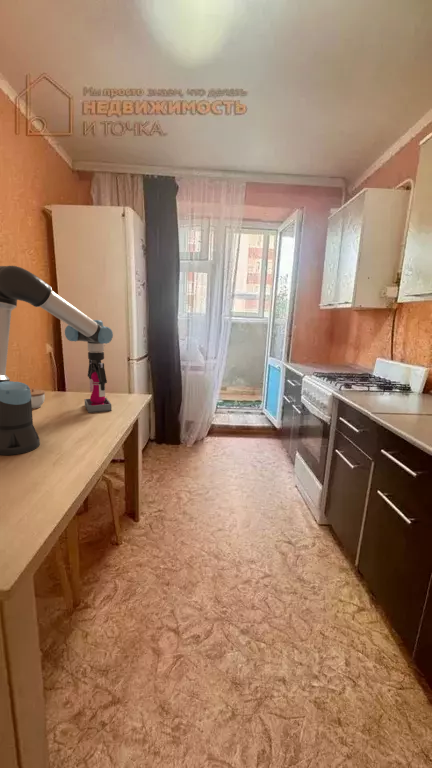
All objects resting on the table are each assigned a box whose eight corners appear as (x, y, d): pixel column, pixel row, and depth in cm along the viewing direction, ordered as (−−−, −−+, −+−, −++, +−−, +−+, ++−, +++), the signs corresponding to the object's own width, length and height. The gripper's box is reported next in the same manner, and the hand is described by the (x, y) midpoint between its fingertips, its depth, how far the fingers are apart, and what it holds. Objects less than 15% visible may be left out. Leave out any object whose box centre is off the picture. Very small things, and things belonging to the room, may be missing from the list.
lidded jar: (38, 410, 168) (37, 391, 166) (17, 409, 168) (15, 390, 167) (49, 404, 179) (48, 386, 177) (29, 403, 179) (27, 386, 177)
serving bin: (111, 410, 172) (111, 404, 172) (88, 413, 167) (88, 406, 167) (106, 403, 184) (106, 397, 184) (84, 405, 179) (84, 399, 179)
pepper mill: (87, 408, 173) (86, 369, 168) (94, 404, 180) (94, 366, 175) (100, 409, 172) (100, 370, 167) (107, 405, 179) (107, 368, 174)
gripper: (113, 354, 163) (114, 398, 167) (94, 348, 181) (95, 388, 186) (97, 355, 158) (99, 400, 163) (80, 349, 176) (81, 389, 181)
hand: (97, 393), depth 174 cm, fingers open, 12 cm apart
